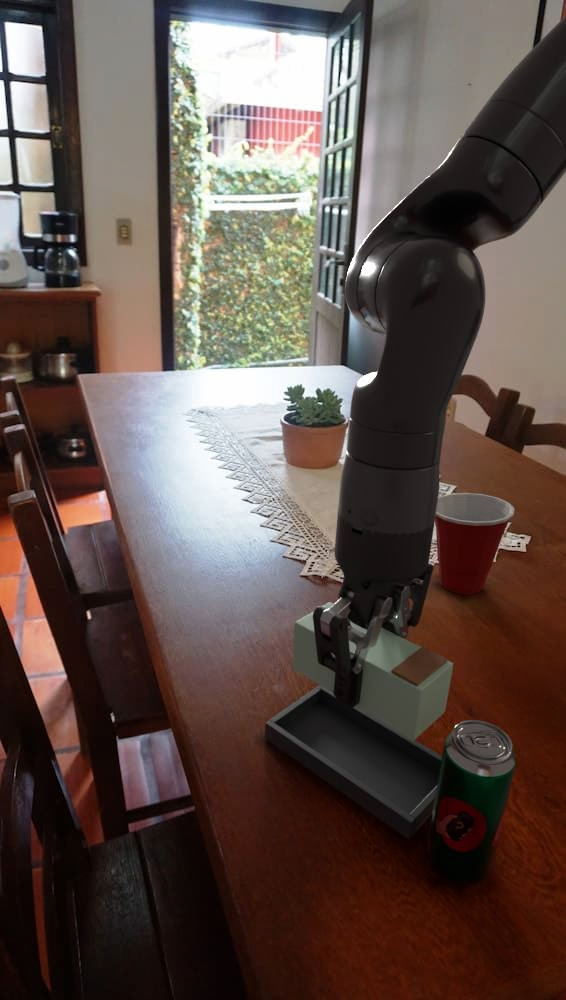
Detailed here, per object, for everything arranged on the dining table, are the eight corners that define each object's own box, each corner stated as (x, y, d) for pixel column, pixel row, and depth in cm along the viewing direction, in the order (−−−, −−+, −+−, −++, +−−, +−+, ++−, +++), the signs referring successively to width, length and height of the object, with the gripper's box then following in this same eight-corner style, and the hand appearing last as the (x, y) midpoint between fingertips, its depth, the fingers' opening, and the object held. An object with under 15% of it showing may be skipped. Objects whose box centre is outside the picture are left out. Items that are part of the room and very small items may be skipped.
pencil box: (291, 668, 62) (294, 619, 60) (326, 646, 66) (330, 599, 63) (413, 741, 54) (421, 688, 52) (445, 712, 58) (454, 660, 56)
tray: (319, 698, 71) (320, 683, 70) (459, 784, 61) (462, 768, 60) (264, 738, 65) (265, 722, 64) (408, 840, 55) (411, 822, 54)
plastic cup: (434, 558, 101) (445, 482, 96) (508, 579, 96) (523, 500, 91) (407, 588, 92) (418, 507, 88) (487, 613, 87) (502, 528, 83)
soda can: (501, 887, 51) (530, 765, 47) (435, 890, 51) (458, 767, 46) (478, 831, 56) (503, 715, 51) (418, 833, 56) (437, 716, 51)
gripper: (397, 474, 60) (378, 636, 67) (289, 519, 50) (278, 704, 57) (474, 499, 56) (445, 670, 62) (371, 554, 46) (350, 750, 52)
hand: (366, 685), depth 60 cm, fingers closed on pencil box, 5 cm apart
